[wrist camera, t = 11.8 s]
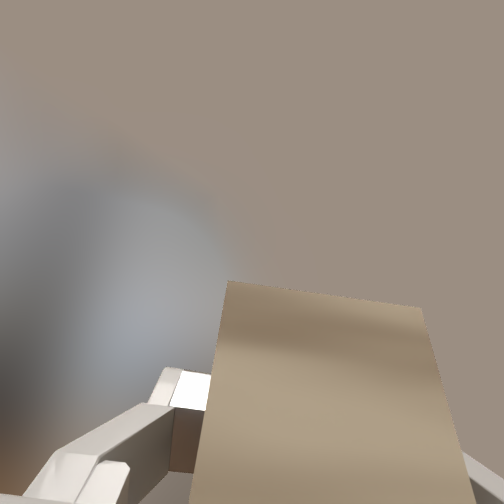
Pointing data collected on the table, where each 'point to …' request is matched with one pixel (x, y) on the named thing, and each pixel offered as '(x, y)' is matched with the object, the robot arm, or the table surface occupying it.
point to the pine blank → (325, 405)
